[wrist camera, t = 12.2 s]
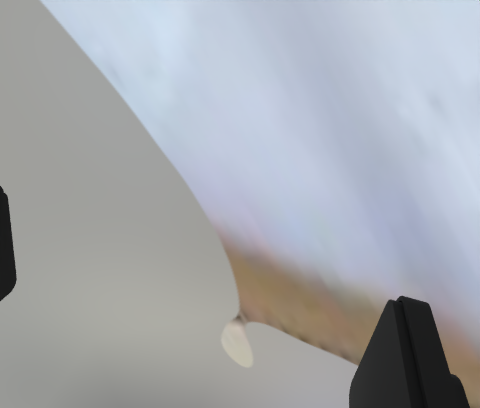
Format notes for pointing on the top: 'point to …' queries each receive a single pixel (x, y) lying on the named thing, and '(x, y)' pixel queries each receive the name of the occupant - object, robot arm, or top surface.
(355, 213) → the top surface
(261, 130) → the top surface
